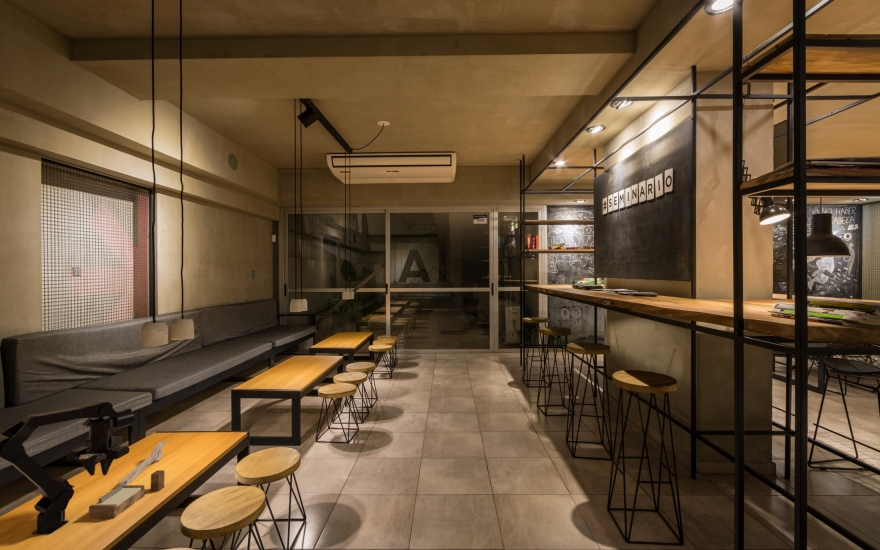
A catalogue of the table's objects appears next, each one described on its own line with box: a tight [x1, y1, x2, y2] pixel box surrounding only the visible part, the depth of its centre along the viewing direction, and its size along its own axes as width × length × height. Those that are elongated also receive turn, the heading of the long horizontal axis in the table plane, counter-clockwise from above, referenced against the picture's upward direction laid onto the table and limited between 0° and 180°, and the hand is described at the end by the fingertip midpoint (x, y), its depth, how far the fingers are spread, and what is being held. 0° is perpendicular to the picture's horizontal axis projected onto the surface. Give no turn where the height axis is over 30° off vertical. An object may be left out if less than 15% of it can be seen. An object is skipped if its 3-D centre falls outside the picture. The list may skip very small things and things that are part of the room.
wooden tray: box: [88, 484, 145, 520], centre depth 141 cm, size 14×9×4 cm, turn 1°
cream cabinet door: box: [93, 485, 141, 506], centre depth 141 cm, size 11×8×2 cm
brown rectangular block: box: [150, 469, 166, 493], centre depth 153 cm, size 3×3×7 cm
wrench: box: [117, 441, 167, 487], centre depth 168 cm, size 8×2×30 cm
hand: (98, 475), depth 141 cm, fingers open, 4 cm apart
